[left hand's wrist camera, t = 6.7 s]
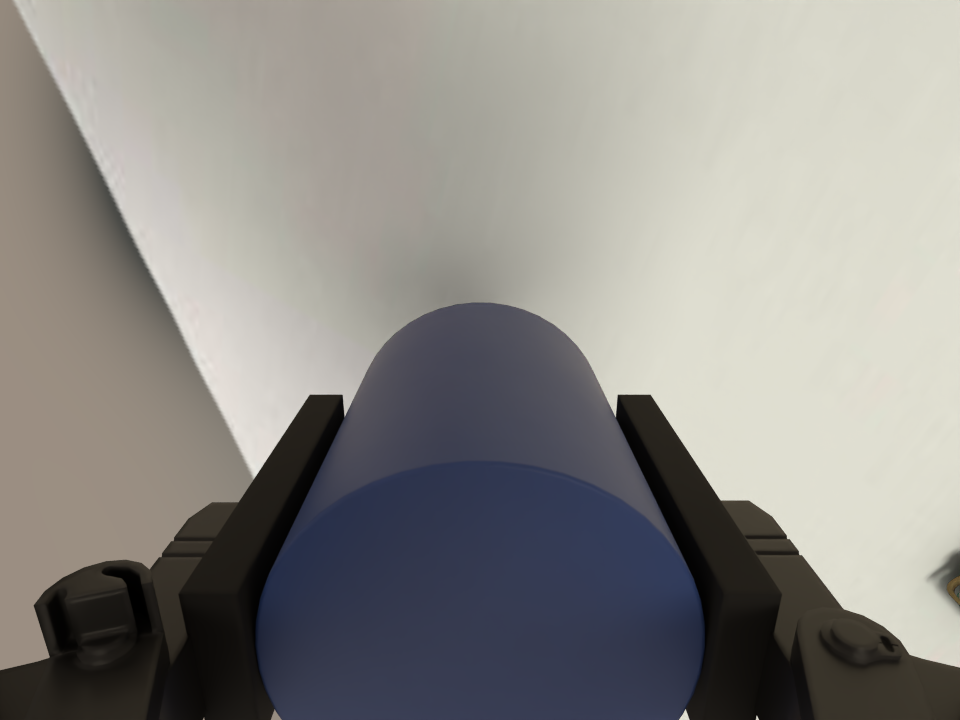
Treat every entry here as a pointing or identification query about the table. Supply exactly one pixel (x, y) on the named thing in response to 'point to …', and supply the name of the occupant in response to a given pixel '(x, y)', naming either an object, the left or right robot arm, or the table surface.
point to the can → (480, 545)
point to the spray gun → (951, 589)
